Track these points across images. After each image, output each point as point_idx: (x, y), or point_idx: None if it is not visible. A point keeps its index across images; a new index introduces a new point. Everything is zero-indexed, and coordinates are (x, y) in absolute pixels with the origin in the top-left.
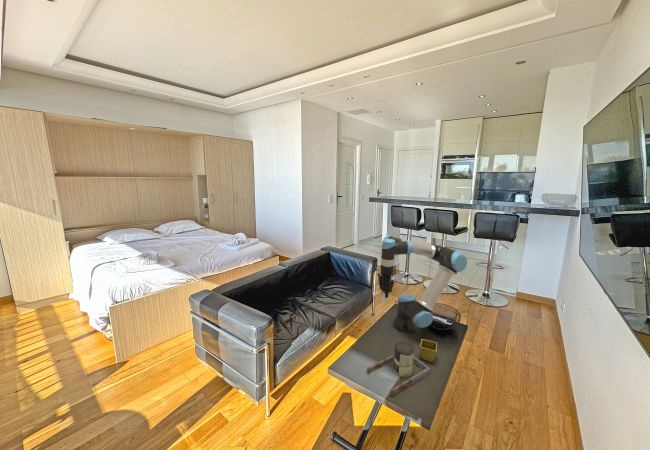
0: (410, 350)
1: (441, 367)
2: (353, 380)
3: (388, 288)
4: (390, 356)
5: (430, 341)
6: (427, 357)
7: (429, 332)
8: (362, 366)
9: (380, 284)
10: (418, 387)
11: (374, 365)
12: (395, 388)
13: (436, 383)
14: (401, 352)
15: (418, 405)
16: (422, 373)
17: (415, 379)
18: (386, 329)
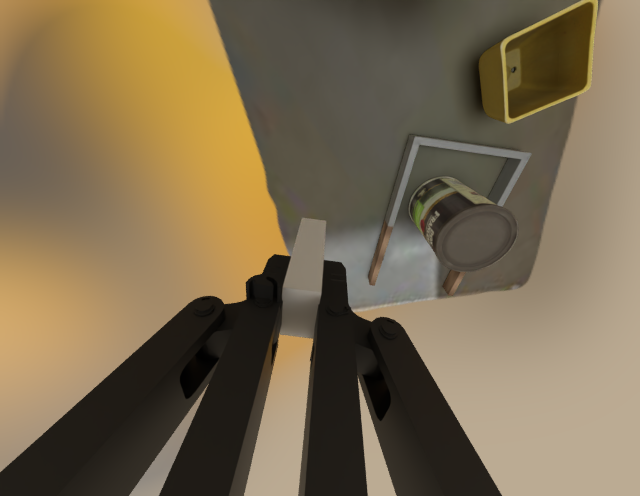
0: (502, 238)
1: None
2: (360, 306)
3: (390, 451)
4: (394, 208)
5: (554, 18)
6: (516, 103)
7: None
8: (347, 269)
9: (171, 425)
10: None
11: (378, 267)
12: (455, 285)
13: (544, 174)
14: (474, 270)
15: (506, 266)
16: (508, 193)
17: None
18: (266, 35)
